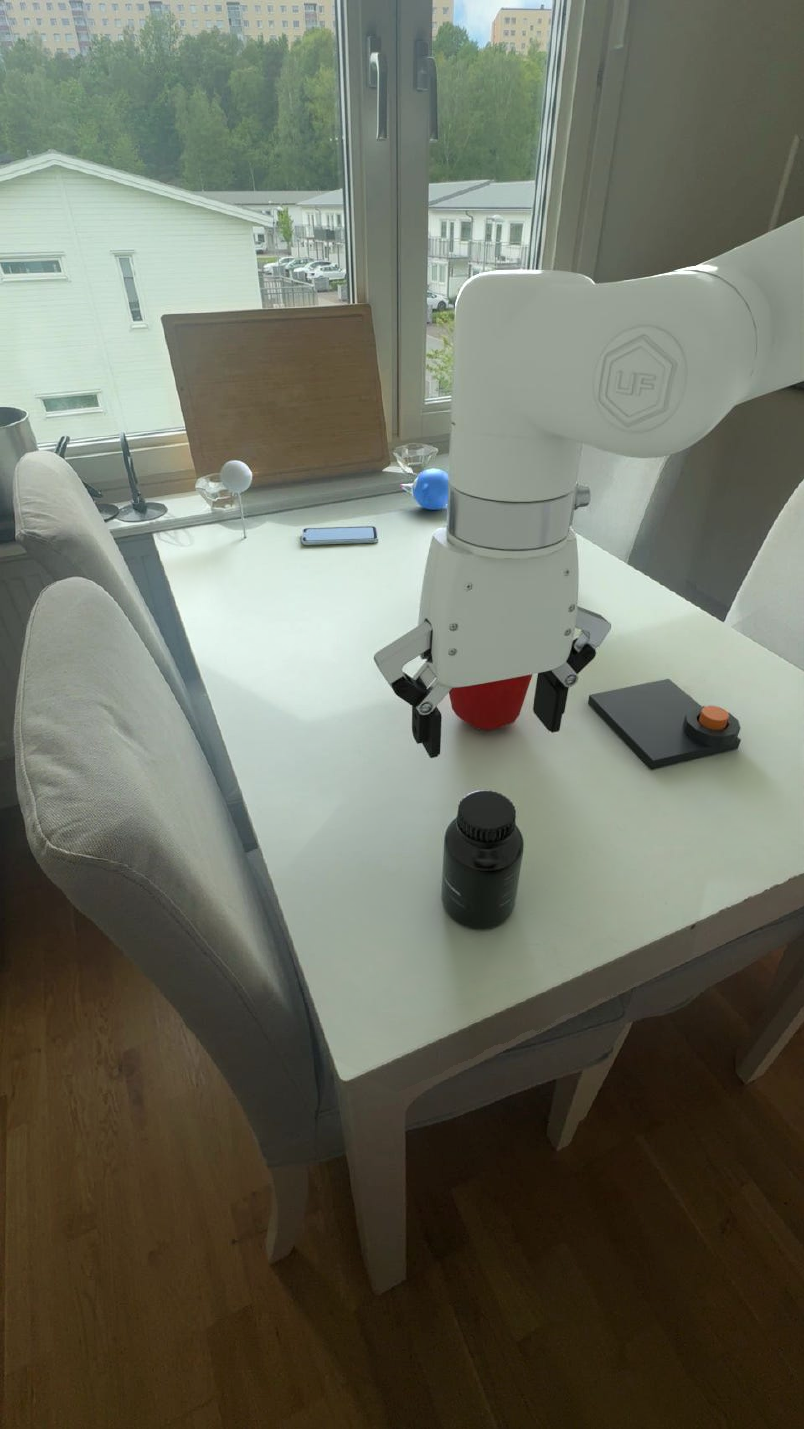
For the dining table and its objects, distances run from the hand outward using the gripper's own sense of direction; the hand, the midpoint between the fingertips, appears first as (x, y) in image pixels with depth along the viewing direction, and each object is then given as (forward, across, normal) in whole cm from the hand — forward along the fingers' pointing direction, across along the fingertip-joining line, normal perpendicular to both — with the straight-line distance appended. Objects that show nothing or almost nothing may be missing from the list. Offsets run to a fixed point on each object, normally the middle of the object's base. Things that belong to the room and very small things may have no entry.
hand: (488, 733), depth 51 cm
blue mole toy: (+20, -31, -103) cm, 109 cm away
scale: (+20, -32, -18) cm, 42 cm away
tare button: (+17, -36, -13) cm, 42 cm away
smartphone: (+20, -9, -92) cm, 94 cm away
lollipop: (+21, +9, -99) cm, 101 cm away
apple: (+20, -12, -26) cm, 35 cm away
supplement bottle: (+20, 0, 0) cm, 20 cm away
